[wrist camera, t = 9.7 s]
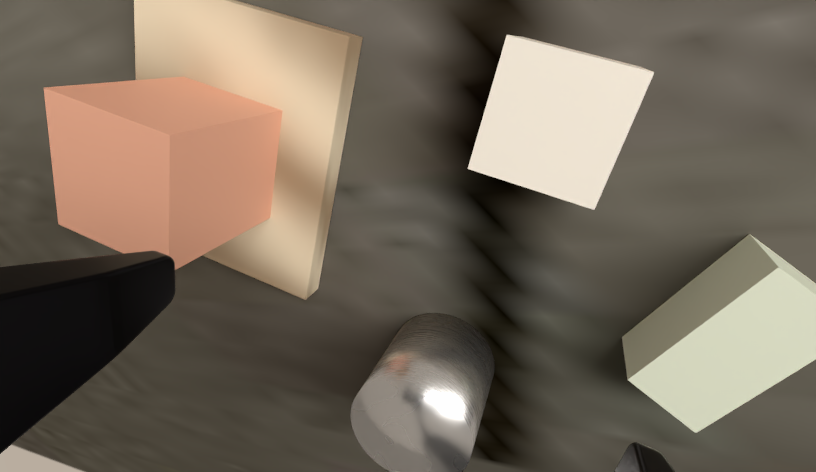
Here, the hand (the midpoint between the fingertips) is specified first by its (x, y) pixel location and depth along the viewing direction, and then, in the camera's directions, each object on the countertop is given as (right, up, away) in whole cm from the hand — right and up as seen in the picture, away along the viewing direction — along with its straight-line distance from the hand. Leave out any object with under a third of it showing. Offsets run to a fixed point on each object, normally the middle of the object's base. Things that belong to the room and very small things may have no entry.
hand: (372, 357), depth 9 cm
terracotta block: (-7, +6, +12) cm, 16 cm away
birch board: (-7, +7, +13) cm, 17 cm away
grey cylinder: (+2, -4, +14) cm, 15 cm away
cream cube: (+6, +7, +8) cm, 12 cm away
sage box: (+12, -1, +9) cm, 15 cm away
